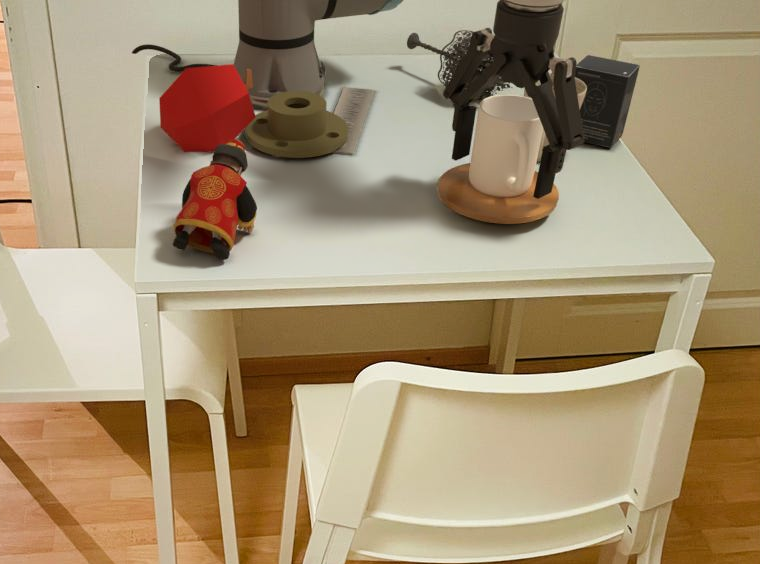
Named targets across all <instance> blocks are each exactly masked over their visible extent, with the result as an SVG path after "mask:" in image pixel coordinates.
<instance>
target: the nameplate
mask: <svg viewBox="0 0 760 564" xmlns="http://www.w3.org/2000/svg"><path fill="white" fill-rule="evenodd" d="M374 94H375V90H374V89H367V88H365V89H364V88H358V87H357V88H356V87H343V88H342V91H341V92H340V96H339V98H338V101H337V103H336V106H335V108H334V110H333V113H334V114H336V115H337V116H339V117H341V118H342V119H343V120H344V121H345V122H346V124H347V126H348V138H347V141H346V142H345V144H344V145H343V146H341V147H340V148H339V149H337V150H335V151H333V152H330V153H329V154H338V155H339V154H340V155H350V156H352V155H354V152H355V150H356V147H357V144H358V142H359V139H360V136H361V132H362V129H363V126H364V123H365V120H366V117H367V114H368V113H369V112H368V111H369V109H370V106H371V103H372V100H373V97H374Z"/></svg>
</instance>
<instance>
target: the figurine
mask: <svg viewBox="0 0 760 564" xmlns="http://www.w3.org/2000/svg"><path fill="white" fill-rule="evenodd" d="M248 166H249V165H248V157H247V153H246V146H245V144H244V143H243V142H242V141H241V140H239V139H236V138H235V139H231V140H229V141H228V142H227V144H220V145H218V146H216V148H215V150H214V151H213V154H212V160H210V162H209V165H207V166H203V167H201V168H199V169H196V170H195V171H193V172H192V174H191V175H190V179H189V180H188V182H187V183H186V186H185V188H184V189H183V192H182V198H181V210H180V211H179V213H178V214H177V216H176V219H175V221H174V223H173V229H174V233H175V237H174V239H173V242H172V246H173V247H174V248H176V249H177V250H179V251H185V250H186V249H187V247H191V248H192V249H196V250H198V251H201V252H205V253H210V254H211V253H212V254H213V255H215V256H216V258H218V259H221V260H228V259H229V256H230V251H232V250H233V248H234V247H233V246H234V244H235V241H236V235H237V229H239V230H242V231H244V232H247V233H248V234H251V233H252V232H253V230H254V228H255V219H256V217H257V210H258V205H257V203H256V200H255V199H254V196H253V195H252V192H251V191H250V189H249V187H248V186H247V184H248V183H247V181H246V180H245V178H243V176H242V174H243V173H244V172H246V170H247V169H248Z"/></svg>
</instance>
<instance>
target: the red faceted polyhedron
mask: <svg viewBox="0 0 760 564" xmlns="http://www.w3.org/2000/svg"><path fill="white" fill-rule="evenodd" d="M252 87H253V84H252V70H251V69H246V75H245V83H243V81H242V79H241V78H240V76H239V74H238V72H237V70H236V68H235V66H234V63H233V64H231V63H230V64H221V65H219V66H207V67H195V68H186V69H185V70H184V71H183V72H180V74H179V75H178V76H177V77H176V79H175V80H174V81H173V82H172V83H171V84H170V86H169V87H168V88H167V89H165V91H164V92H163V94H162V95H161V96H159V99H158V100H159V120H160V121H159V123H160V125H159V126H160V129H161V130H162V131H163V132H164V133H165V134H166V135H167V136H168V137H169V138H170V139H171V140H172V141H173V142H174V143H175V144H176V145H177V146H178V147H179V148H180V149H181V150H182V151H183V152H184V153H202V152H204V153H205V152H214V150H215V148H216V146H218V145H220V144H227V142H228V141H229V140H231V139H236V138H238V136H240V134H241V133H242V132H244V130H245V128H246V127H247V126H248V125H249V124H250V123H251V122H252V121H253V120H254V119H255V117H256V116H255V115H256V113H255V110H254V109H255V108H254V107H253V106H252V102H251V99H250V96H249V93H248V91H247V90H248V89H250V88H252Z"/></svg>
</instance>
